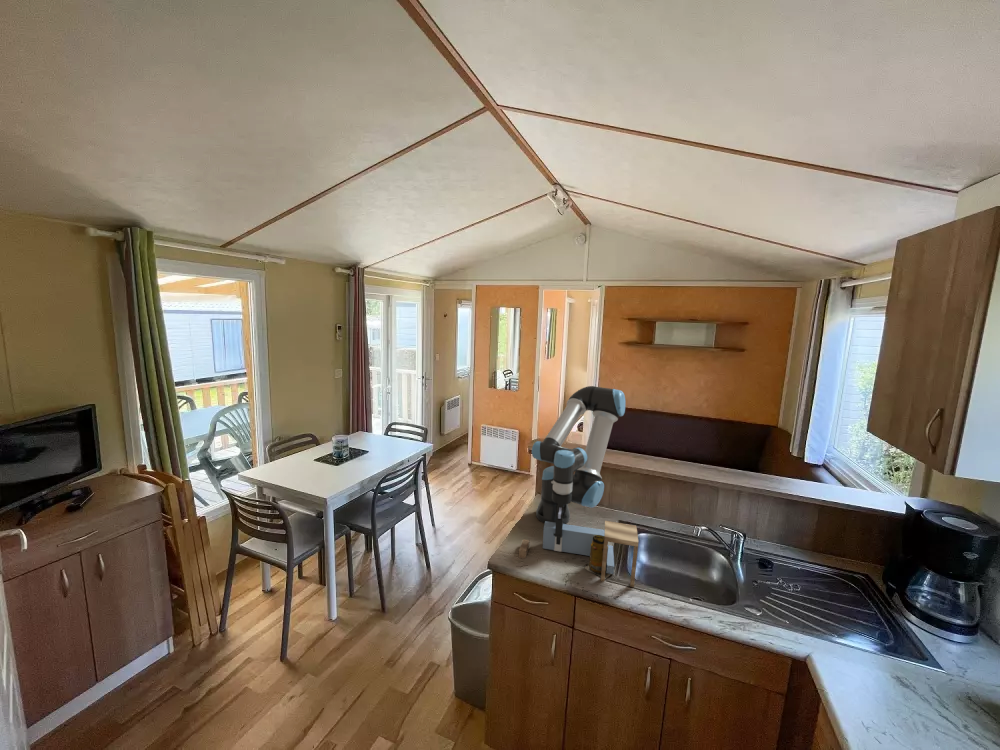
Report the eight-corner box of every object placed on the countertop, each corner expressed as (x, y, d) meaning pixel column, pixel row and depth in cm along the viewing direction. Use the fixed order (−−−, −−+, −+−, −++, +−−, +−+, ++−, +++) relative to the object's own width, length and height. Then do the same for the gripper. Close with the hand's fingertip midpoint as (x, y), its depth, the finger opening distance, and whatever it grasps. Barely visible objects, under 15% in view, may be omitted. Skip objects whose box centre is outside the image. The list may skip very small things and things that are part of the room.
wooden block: (522, 546, 163) (523, 539, 163) (529, 547, 163) (529, 540, 162) (518, 557, 155) (519, 550, 155) (525, 558, 155) (525, 551, 154)
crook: (544, 542, 165) (545, 521, 164) (612, 553, 160) (614, 531, 158) (539, 561, 152) (540, 539, 151) (613, 574, 147) (615, 550, 145)
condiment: (594, 560, 155) (596, 531, 153) (615, 571, 149) (617, 540, 148) (584, 569, 150) (586, 538, 148) (605, 579, 144) (607, 548, 142)
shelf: (601, 562, 154) (605, 520, 152) (632, 567, 152) (636, 525, 149) (600, 580, 143) (604, 536, 141) (633, 587, 141) (638, 542, 138)
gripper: (554, 480, 168) (551, 533, 171) (549, 499, 151) (546, 558, 154) (573, 483, 166) (569, 536, 170) (570, 502, 149) (566, 561, 153)
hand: (558, 546), depth 162 cm, fingers closed on crook, 4 cm apart
